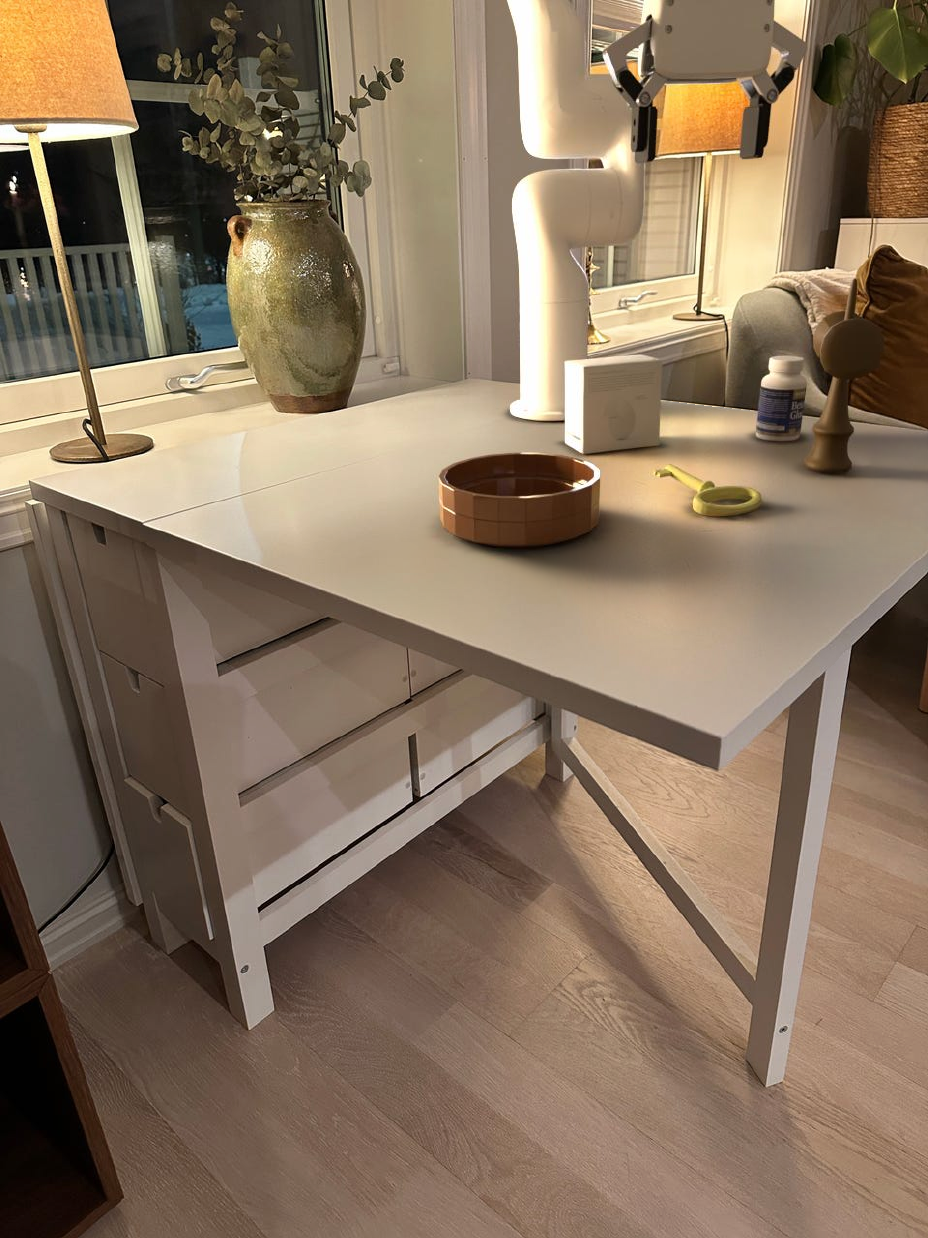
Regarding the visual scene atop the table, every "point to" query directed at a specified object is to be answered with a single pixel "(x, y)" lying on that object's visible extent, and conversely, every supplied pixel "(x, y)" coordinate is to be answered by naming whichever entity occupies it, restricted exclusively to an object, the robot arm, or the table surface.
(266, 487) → the table surface
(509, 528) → the bowl
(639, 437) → the cosmetics box
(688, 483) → the key
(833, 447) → the kendama
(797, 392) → the pill bottle
